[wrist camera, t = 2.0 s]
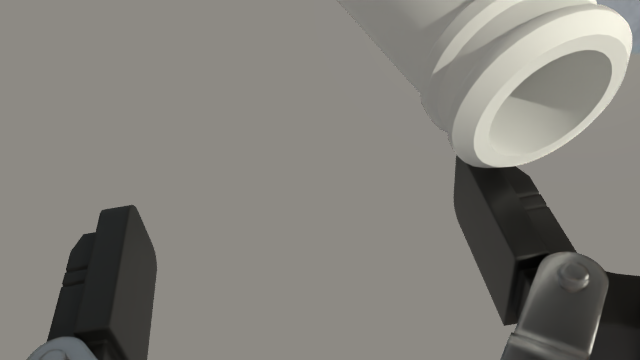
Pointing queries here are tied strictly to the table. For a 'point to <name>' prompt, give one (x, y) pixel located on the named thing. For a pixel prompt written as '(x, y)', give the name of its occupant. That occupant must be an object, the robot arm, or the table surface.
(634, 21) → the table surface
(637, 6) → the table surface
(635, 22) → the table surface
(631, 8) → the table surface
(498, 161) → the alcohol
